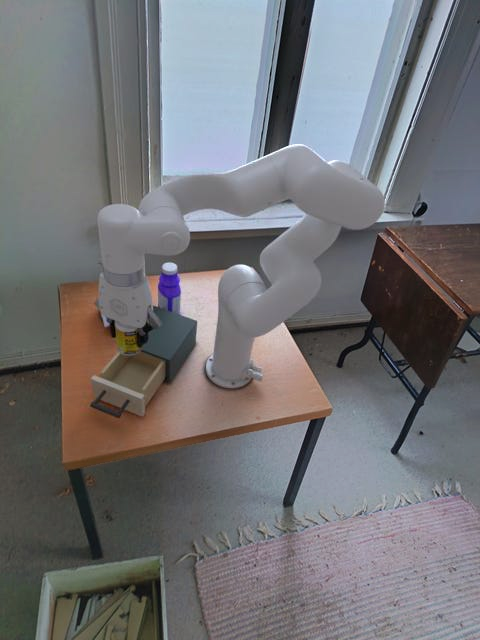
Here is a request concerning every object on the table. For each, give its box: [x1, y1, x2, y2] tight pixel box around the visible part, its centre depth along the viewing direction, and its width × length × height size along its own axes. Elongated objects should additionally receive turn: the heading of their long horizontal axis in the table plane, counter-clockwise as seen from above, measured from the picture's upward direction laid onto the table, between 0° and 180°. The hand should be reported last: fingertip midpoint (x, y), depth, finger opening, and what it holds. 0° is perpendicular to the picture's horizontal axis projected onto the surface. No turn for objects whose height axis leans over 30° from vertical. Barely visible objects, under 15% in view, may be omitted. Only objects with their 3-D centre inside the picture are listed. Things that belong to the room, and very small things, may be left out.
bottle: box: [157, 262, 182, 315], centre depth 114 cm, size 7×6×17 cm
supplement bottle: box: [115, 320, 143, 355], centre depth 87 cm, size 6×6×10 cm
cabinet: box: [141, 305, 198, 384], centre depth 106 cm, size 16×14×9 cm
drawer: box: [89, 350, 167, 419], centre depth 95 cm, size 19×13×7 cm, turn 160°
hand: (129, 338), depth 88 cm, fingers closed on supplement bottle, 5 cm apart
